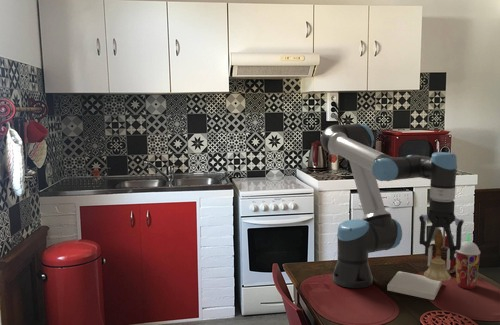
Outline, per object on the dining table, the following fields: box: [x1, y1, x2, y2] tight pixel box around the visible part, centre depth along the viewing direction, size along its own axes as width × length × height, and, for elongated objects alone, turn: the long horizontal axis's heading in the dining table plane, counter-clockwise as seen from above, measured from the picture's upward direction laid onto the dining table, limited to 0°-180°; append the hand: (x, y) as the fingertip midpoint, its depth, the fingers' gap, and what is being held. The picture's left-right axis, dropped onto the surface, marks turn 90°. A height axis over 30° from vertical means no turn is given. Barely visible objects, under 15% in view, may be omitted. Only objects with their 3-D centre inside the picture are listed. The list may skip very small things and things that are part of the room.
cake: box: [430, 228, 456, 274], centre depth 172 cm, size 11×9×18 cm
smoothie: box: [455, 233, 481, 290], centre depth 157 cm, size 8×8×20 cm
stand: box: [386, 270, 443, 301], centre depth 157 cm, size 16×16×2 cm
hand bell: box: [423, 228, 452, 282], centre depth 139 cm, size 8×8×16 cm
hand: (438, 266), depth 142 cm, fingers closed on hand bell, 5 cm apart
